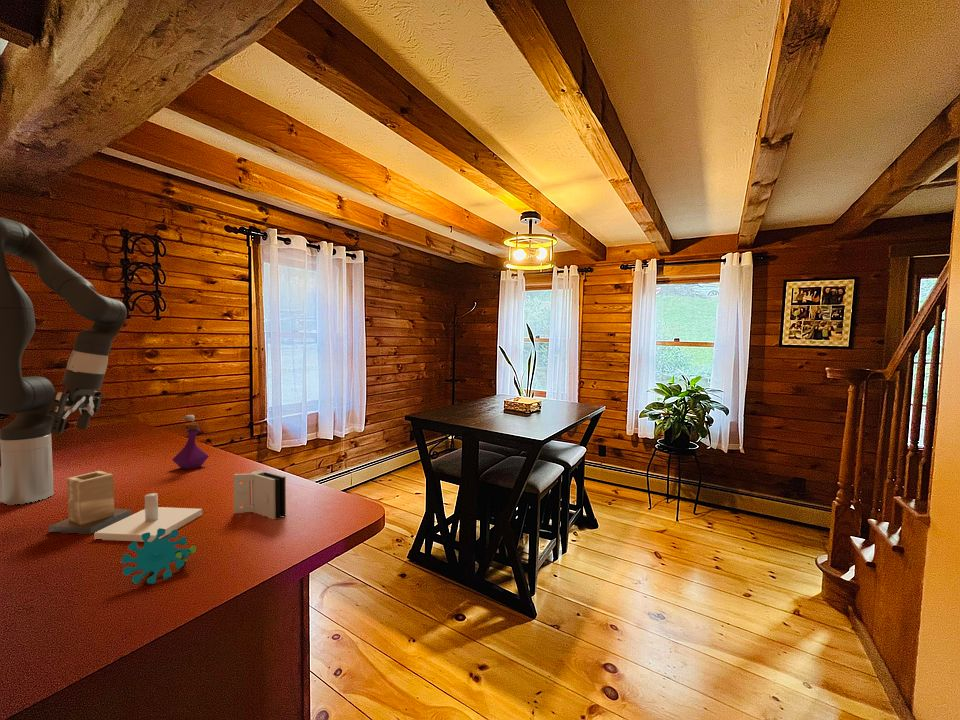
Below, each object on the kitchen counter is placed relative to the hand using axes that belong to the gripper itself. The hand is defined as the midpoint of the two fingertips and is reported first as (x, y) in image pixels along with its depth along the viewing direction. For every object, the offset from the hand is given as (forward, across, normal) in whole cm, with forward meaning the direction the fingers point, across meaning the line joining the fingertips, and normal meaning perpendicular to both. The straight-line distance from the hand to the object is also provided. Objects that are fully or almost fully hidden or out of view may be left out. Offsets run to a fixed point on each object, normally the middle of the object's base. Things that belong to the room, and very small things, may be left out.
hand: (69, 431), depth 106 cm
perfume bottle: (+14, -32, +18) cm, 39 cm away
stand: (+18, +11, +16) cm, 27 cm away
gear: (+16, +37, +43) cm, 59 cm away
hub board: (+16, +15, +30) cm, 37 cm away
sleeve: (+17, +11, +16) cm, 26 cm away
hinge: (+11, +12, +53) cm, 55 cm away
